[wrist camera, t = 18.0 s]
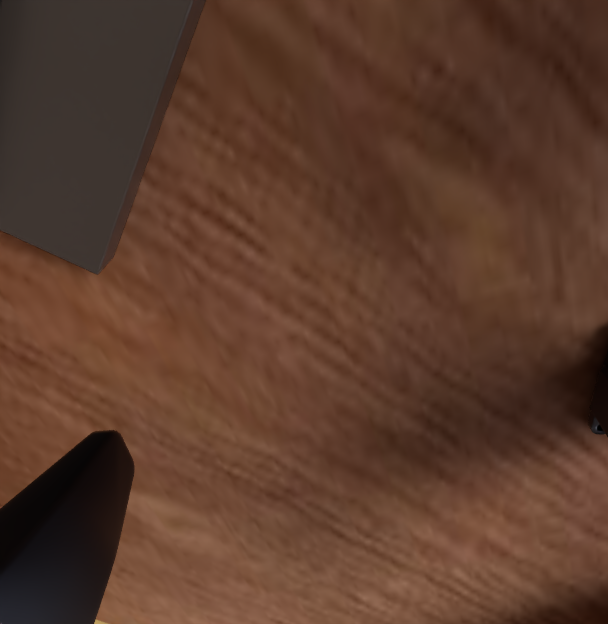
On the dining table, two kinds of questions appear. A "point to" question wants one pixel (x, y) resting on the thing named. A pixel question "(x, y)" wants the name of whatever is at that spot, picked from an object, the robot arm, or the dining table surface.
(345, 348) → the dining table surface
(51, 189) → the step shelf
